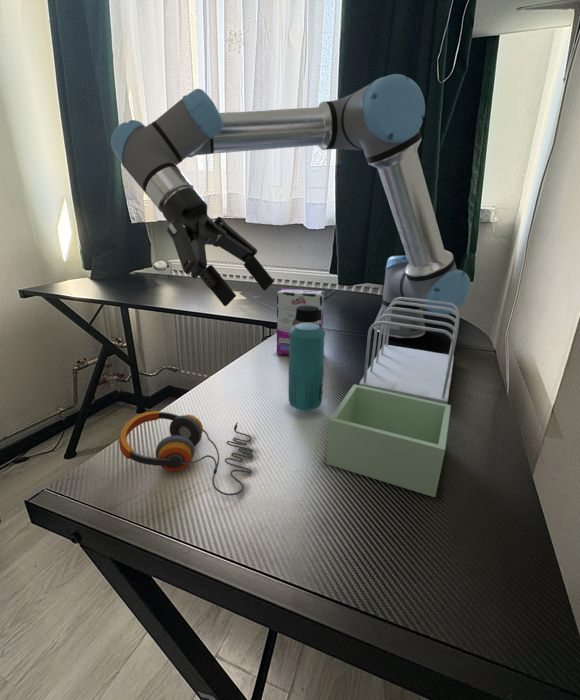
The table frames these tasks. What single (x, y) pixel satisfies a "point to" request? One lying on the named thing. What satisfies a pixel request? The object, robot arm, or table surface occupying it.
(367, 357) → the file sorter
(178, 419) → the headphones
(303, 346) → the beverage bottle
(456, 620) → the table surface
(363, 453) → the basket
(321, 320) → the candy bar box
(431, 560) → the table surface
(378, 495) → the table surface
